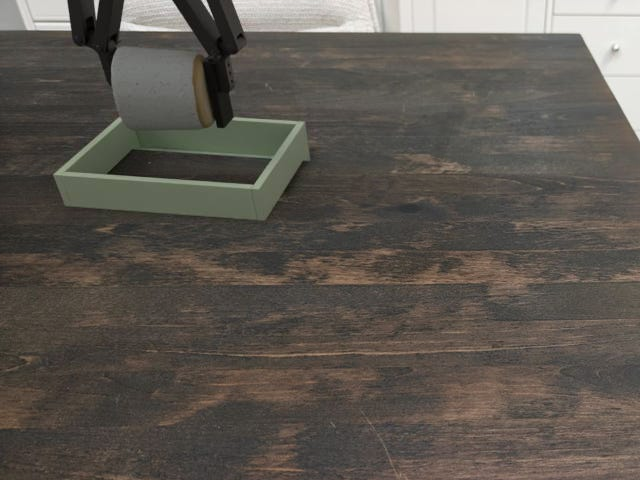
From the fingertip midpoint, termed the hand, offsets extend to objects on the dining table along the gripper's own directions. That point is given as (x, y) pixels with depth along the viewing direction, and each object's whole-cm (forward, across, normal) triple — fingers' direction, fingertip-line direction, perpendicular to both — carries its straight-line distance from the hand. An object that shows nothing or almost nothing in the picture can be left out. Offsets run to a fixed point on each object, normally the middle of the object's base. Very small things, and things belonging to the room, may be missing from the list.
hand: (180, 119), depth 75 cm
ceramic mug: (0, 0, 0) cm, 1 cm away
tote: (+8, 0, 0) cm, 8 cm away
